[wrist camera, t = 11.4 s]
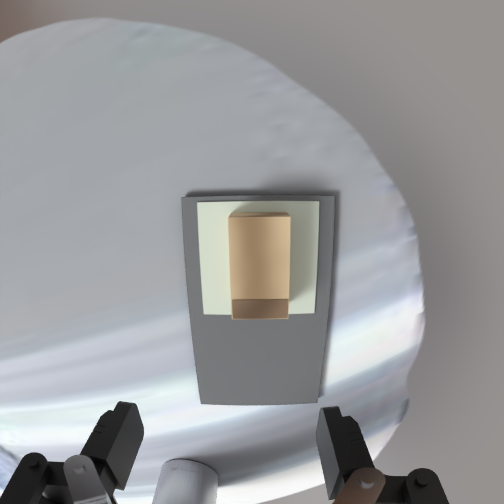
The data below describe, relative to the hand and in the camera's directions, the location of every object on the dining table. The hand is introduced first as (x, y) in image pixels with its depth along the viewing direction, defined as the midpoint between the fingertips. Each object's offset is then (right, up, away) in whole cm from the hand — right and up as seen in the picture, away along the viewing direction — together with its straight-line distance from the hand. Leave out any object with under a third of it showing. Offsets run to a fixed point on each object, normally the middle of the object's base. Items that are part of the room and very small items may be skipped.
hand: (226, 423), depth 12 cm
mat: (+2, +1, +19) cm, 19 cm away
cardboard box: (+2, +6, +17) cm, 18 cm away
